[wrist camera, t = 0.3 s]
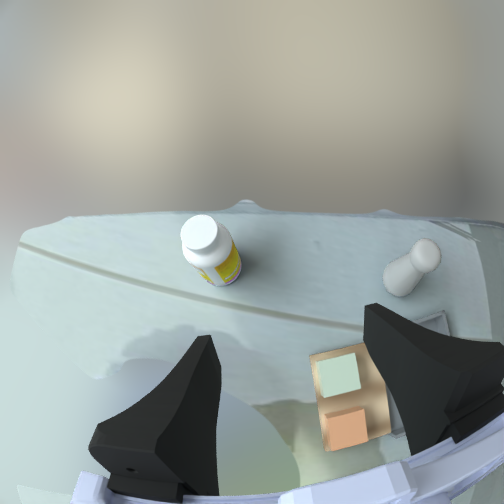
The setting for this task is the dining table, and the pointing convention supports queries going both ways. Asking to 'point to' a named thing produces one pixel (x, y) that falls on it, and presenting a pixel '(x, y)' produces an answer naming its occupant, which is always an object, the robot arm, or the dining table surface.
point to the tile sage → (338, 375)
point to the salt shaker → (411, 267)
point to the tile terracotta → (346, 428)
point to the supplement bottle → (210, 250)
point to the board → (356, 393)
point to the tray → (431, 322)
